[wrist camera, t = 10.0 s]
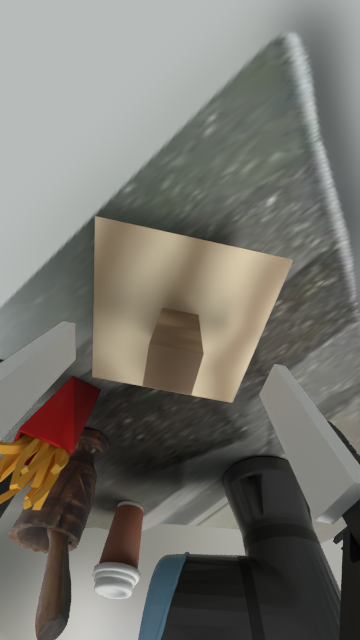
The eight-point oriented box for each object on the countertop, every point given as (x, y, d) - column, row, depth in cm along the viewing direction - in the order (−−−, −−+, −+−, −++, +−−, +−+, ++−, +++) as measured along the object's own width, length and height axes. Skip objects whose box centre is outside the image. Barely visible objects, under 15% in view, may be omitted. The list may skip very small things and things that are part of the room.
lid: (281, 257, 16) (357, 274, 9) (228, 389, 22) (248, 463, 15) (106, 218, 16) (32, 202, 8) (100, 364, 22) (55, 430, 14)
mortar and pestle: (94, 409, 33) (-23, 624, 15) (132, 434, 35) (73, 647, 17) (60, 439, 37) (-66, 641, 18) (97, 460, 39) (17, 658, 21)
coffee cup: (157, 510, 46) (147, 596, 35) (131, 520, 49) (114, 603, 38) (129, 493, 43) (110, 580, 32) (104, 505, 46) (77, 589, 35)
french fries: (92, 412, 33) (25, 536, 20) (47, 392, 32) (-61, 510, 18) (114, 380, 30) (52, 500, 17) (64, 355, 29) (-50, 465, 15)
